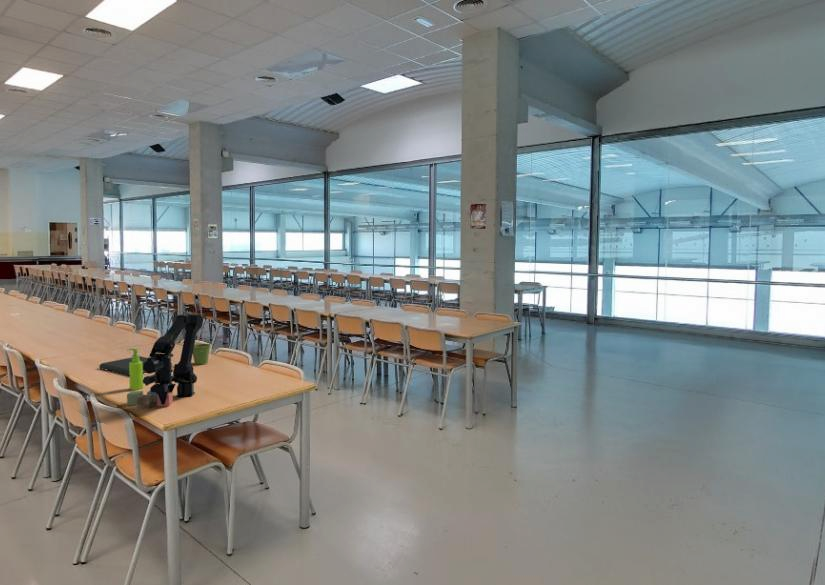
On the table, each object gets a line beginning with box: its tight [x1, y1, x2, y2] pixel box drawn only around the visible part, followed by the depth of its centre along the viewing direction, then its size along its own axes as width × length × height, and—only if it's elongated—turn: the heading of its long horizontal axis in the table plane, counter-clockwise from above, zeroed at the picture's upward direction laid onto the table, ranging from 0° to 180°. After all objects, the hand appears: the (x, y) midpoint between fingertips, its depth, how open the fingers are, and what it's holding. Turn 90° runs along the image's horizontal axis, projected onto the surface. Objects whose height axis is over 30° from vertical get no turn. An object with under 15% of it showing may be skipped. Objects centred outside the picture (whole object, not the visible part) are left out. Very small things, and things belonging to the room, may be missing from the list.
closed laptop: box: [98, 355, 173, 376], centre depth 309 cm, size 33×4×24 cm
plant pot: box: [192, 343, 212, 365], centre depth 323 cm, size 12×12×11 cm
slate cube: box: [146, 390, 158, 402], centre depth 246 cm, size 5×5×5 cm
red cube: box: [156, 391, 174, 407], centre depth 241 cm, size 5×5×5 cm
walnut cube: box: [136, 394, 154, 410], centre depth 237 cm, size 5×5×5 cm
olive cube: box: [126, 390, 144, 406], centre depth 242 cm, size 5×5×5 cm
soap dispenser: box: [126, 347, 144, 391], centre depth 266 cm, size 6×7×20 cm
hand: (165, 402), depth 241 cm, fingers closed on red cube, 5 cm apart
